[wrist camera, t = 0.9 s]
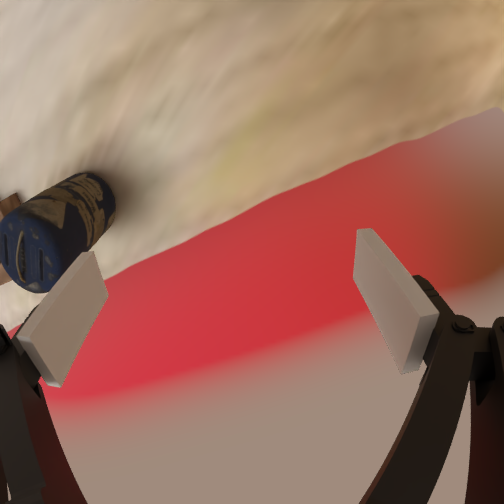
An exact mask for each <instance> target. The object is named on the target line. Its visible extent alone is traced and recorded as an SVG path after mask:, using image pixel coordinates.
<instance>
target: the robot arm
mask: <svg viewBox="0 0 504 504" xmlns="http://www.w3.org/2000/svg"><path fill="white" fill-rule="evenodd" d="M353 279H354V281H355V283H356V285H357V286H358V289H359V290H360V292H361V294H362V296H363V298H364V300H365V302H366V304H367V305H368V308H369V310H370V312H371V314H372V316H373V317H374V319H375V321H376V323H377V325H378V327H379V329H380V332H381V333H382V336H383V338H384V340H385V342H386V344H387V346H388V348H389V350H390V352H391V354H392V356H393V358H394V361H395V363H396V365H397V367H398V369H399V371H400V374H405V373H409V372H413V371H417V370H419V368H420V365H421V363H422V360H424V362H425V364H426V365H427V368H426V371H425V373H424V375H423V377H422V380H421V382H420V384H419V385H420V386H419V389H418V391H417V394H416V396H415V398H414V401H413V403H412V405H411V408H410V410H409V412H408V415H407V417H406V419H405V421H404V423H403V425H402V428H401V430H400V432H399V434H398V436H397V438H396V440H395V442H394V444H393V446H392V448H391V450H390V452H389V453H388V455H387V457H386V459H385V461H384V463H383V465H382V466H381V468H380V470H379V471H378V473H377V475H376V477H375V478H374V480H373V482H372V483H371V485H370V487H369V488H368V490H367V491H366V493H365V495H364V496H363V498H362V499H361V501H360V502H359V504H427V502H428V500H429V498H430V496H431V494H432V491H433V489H434V487H435V485H436V482H437V480H438V478H439V475H440V473H441V470H442V468H443V465H444V463H445V460H446V457H447V455H448V452H449V449H450V446H451V443H452V440H453V437H454V434H455V431H456V428H457V424H458V421H459V417H460V414H461V410H462V407H463V403H464V399H465V395H466V391H467V387H468V382H469V381H470V396H471V441H470V442H471V443H470V460H469V472H468V482H467V490H466V498H465V504H504V317H499V318H497V319H496V320H495V321H494V323H493V326H492V328H485V327H484V328H483V327H477V326H476V325H475V323H474V322H473V321H472V320H471V319H469V318H467V317H465V316H462V315H455V314H454V313H453V311H452V310H451V309H450V308H449V306H448V305H447V303H446V302H445V301H444V300H443V299H442V297H441V296H439V293H438V292H437V291H436V290H434V287H433V286H432V285H431V284H430V282H429V281H428V280H426V279H425V278H423V277H421V276H420V275H415V276H411V275H410V274H409V272H408V271H407V270H406V269H405V267H404V266H403V265H402V264H401V262H400V261H399V260H398V259H397V257H396V256H395V255H394V254H393V253H392V251H391V250H390V249H389V248H388V247H387V246H386V245H385V243H384V242H383V241H382V240H381V238H380V237H379V236H378V235H377V234H376V233H375V232H374V230H373V229H372V228H370V229H357V240H356V252H355V263H354V273H353ZM107 298H108V292H107V290H106V287H105V284H104V281H103V278H102V275H101V272H100V269H99V266H98V263H97V260H96V257H95V254H94V251H91V252H82V253H81V254H80V255H79V256H78V257H77V259H76V260H75V261H74V262H73V263H72V264H71V266H70V267H69V268H68V269H67V270H66V272H65V273H64V274H63V275H62V276H61V278H60V279H59V280H58V281H57V282H56V284H55V285H54V286H53V287H52V289H51V290H50V291H49V292H48V294H47V295H46V296H45V298H44V299H43V300H42V301H41V303H40V304H38V305H37V306H36V307H35V308H34V309H33V310H32V311H31V313H30V314H29V315H28V316H29V317H27V318H26V319H25V321H24V323H22V325H21V326H20V328H19V329H18V330H17V332H16V333H15V335H14V336H13V338H12V339H10V338H9V336H8V334H7V332H6V330H5V329H4V327H3V325H1V324H0V504H87V502H86V500H85V498H84V496H83V494H82V492H81V490H80V488H79V486H78V484H77V482H76V480H75V478H74V475H73V473H72V471H71V468H70V466H69V464H68V462H67V459H66V457H65V455H64V452H63V449H62V447H61V444H60V442H59V439H58V437H57V434H56V431H55V428H54V425H53V422H52V419H51V416H50V413H49V410H48V407H47V404H46V400H45V397H44V393H43V390H42V387H41V385H40V384H39V382H38V381H39V379H40V377H41V376H42V378H43V379H44V381H45V382H46V383H47V385H49V386H55V387H61V386H62V384H63V382H64V380H65V378H66V376H67V374H68V372H69V370H70V367H71V365H72V363H73V361H74V359H75V357H76V355H77V353H78V351H79V349H80V347H81V345H82V344H83V342H84V339H85V338H86V336H87V334H88V332H89V330H90V328H91V326H92V325H93V323H94V321H95V319H96V317H97V315H98V314H99V312H100V310H101V308H102V307H103V305H104V303H105V301H106V299H107ZM7 484H8V487H9V491H10V494H11V500H10V501H8V490H7Z"/></svg>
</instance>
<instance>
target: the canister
mask: <svg viewBox="0 0 504 504" xmlns="http://www.w3.org/2000/svg"><path fill="white" fill-rule="evenodd" d="M114 216H115V200H114V196H113V194H112V191H111V190H110V188H109V186H108V185H107V184H106V183H105V182H104V181H103V180H102V179H101V178H99V177H98V176H96V175H94V174H90V173H78V174H75V175H73V176H71V177H69V178H67V179H65V180H63V181H61V182H59V183H58V184H56V185H54V186H52V187H51V188H49V189H46V190H44V191H43V192H41V193H39V194H38V195H36V196H34V197H33V198H31V199H29V200H28V201H26V202H25V203H23V204H22V205H20V206H18V207H17V208H15V209H14V210H12V211H11V212H9V213H8V214H7V215H6V216H5V217H4V218H3V219H2V220H1V222H0V261H1V264H2V266H3V267H4V269H5V271H6V272H7V274H8V275H9V276H10V278H11V279H12V280H13V281H14V282H15V283H17V284H18V285H19V286H21V287H22V288H24V289H25V290H27V291H30V292H33V293H46V292H49V291H50V290H51V289H52V287H53V286H54V285H55V284H56V282H57V281H58V280H59V279H60V278H61V276H62V275H63V274H64V273H65V272H66V270H67V269H68V268H69V267H70V266H71V264H72V263H73V262H74V261H75V260H76V259H77V257H78V256H79V255H80V254H81V253H82V252H88V251H89V250H90V249H91V248H92V246H93V245H94V244H95V243H96V242H97V241H98V240H99V238H100V237H101V236H102V235H103V234H104V233H105V232H106V231H107V230H108V228H109V227H110V226H111V224H112V222H113V220H114Z"/></svg>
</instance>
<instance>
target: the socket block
mask: <svg viewBox="0 0 504 504" xmlns="http://www.w3.org/2000/svg"><path fill="white" fill-rule="evenodd" d="M20 205H21V203H20V201H19V199H18V196H17V194H16V193H15V194H13V195H11V196H9V197H8V198H6V199H4V200H2V201H1V202H0V222H1V220H2V219H3V218H4V217H5V216H6V215H7V214H8V213H9V212H11V211H12V210H14V209H15V208H17V207H18V206H20ZM11 280H12V279H11V278H10V276H9V275H8V274H7V272H6V271H5V269H4V267H3V266H2V264H1V261H0V285H2V284H5V283H7V282H9V281H11Z"/></svg>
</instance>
